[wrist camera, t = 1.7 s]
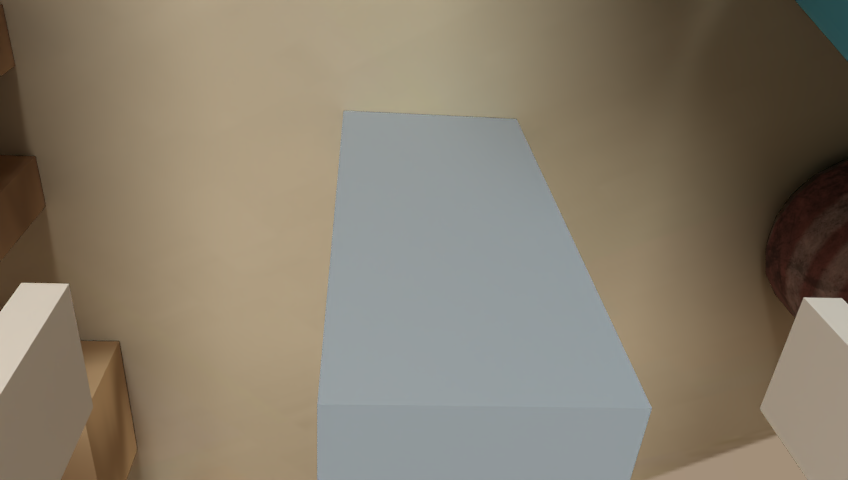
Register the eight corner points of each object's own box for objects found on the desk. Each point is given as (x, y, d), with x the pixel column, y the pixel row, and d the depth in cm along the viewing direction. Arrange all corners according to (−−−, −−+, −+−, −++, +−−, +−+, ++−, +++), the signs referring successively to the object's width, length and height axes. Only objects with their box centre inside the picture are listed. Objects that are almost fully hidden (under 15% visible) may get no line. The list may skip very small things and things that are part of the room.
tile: (343, 110, 21) (316, 404, 11) (516, 118, 21) (652, 407, 11) (342, 161, 22) (317, 481, 11) (509, 169, 22) (629, 482, 12)
